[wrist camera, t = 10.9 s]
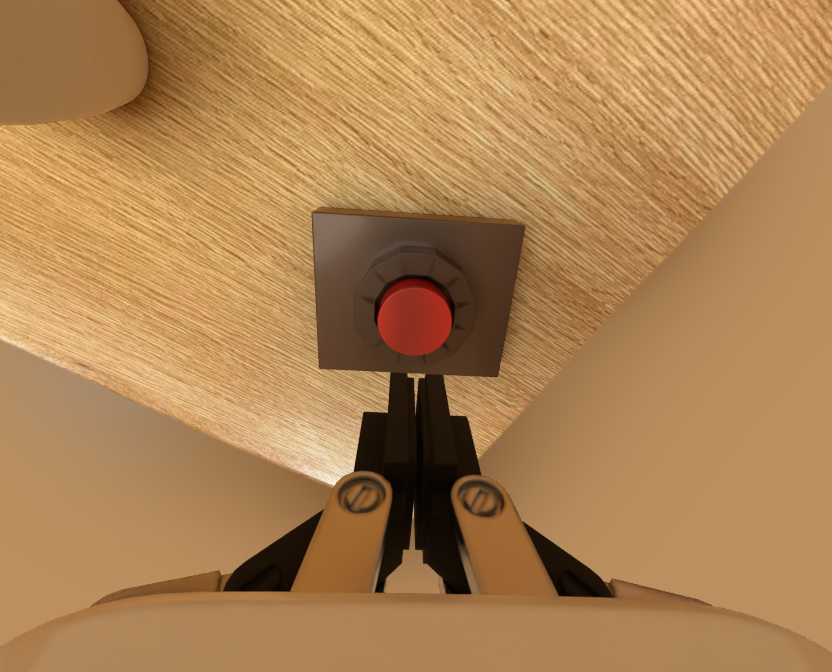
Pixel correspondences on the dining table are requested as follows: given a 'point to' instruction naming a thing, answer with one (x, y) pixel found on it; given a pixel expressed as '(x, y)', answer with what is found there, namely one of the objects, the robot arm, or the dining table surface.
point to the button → (414, 317)
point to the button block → (403, 259)
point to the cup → (67, 59)
